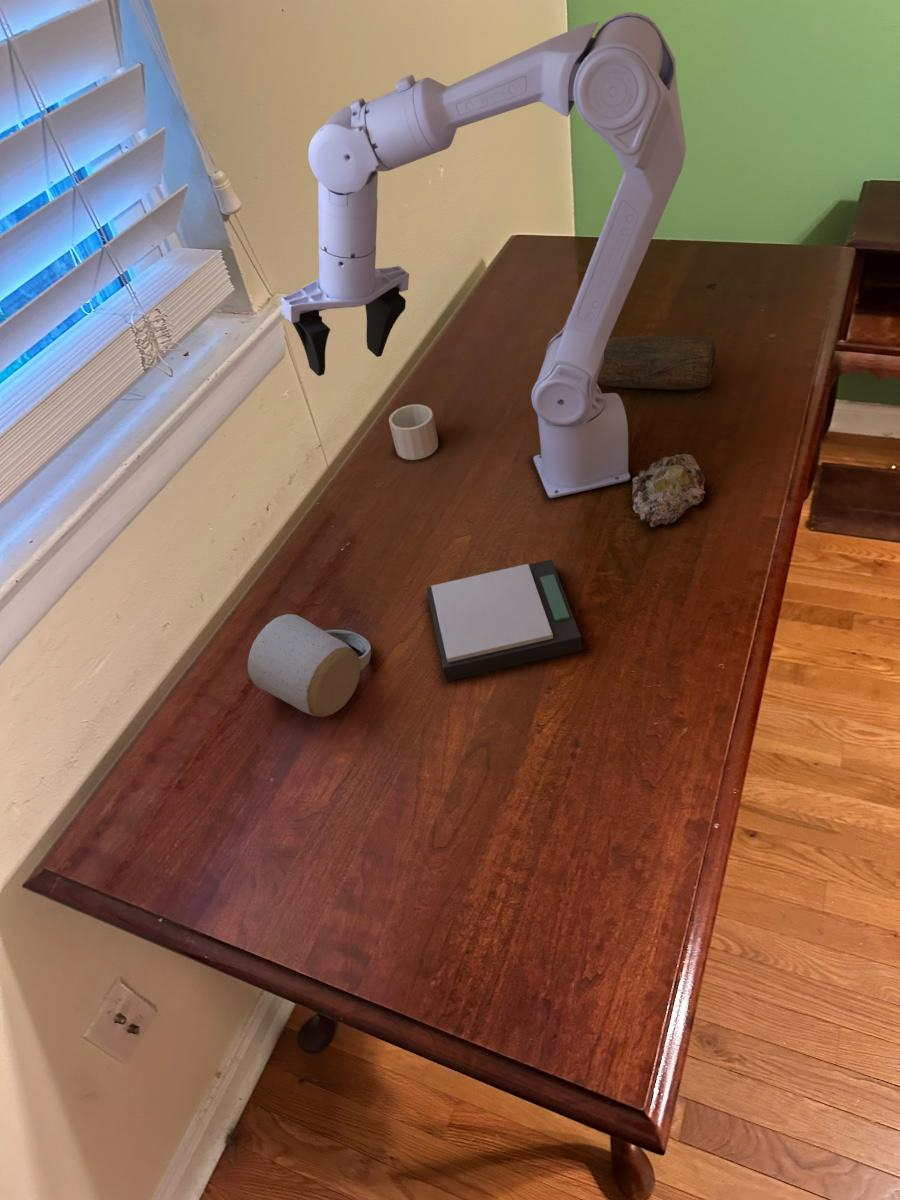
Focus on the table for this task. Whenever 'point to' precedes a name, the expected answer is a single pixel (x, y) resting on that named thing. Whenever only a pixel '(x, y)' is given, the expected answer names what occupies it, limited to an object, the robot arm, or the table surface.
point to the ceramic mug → (307, 664)
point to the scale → (502, 620)
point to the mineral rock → (668, 489)
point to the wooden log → (658, 362)
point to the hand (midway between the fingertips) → (346, 361)
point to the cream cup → (414, 431)
